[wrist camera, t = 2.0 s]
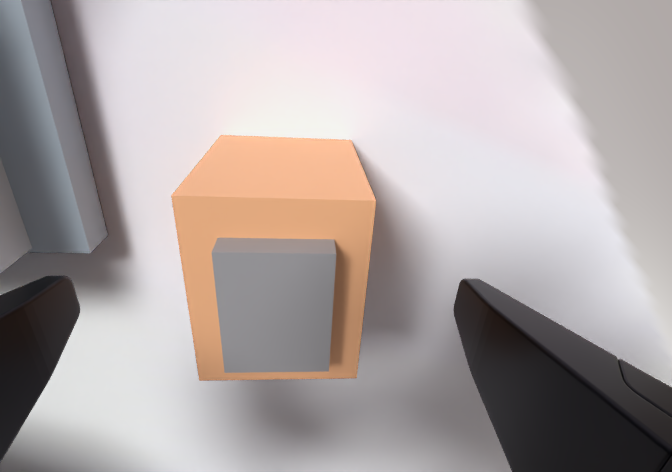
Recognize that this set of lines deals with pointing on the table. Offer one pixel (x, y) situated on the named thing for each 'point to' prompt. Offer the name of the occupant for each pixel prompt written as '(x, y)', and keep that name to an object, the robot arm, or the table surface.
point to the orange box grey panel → (276, 257)
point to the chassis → (41, 143)
